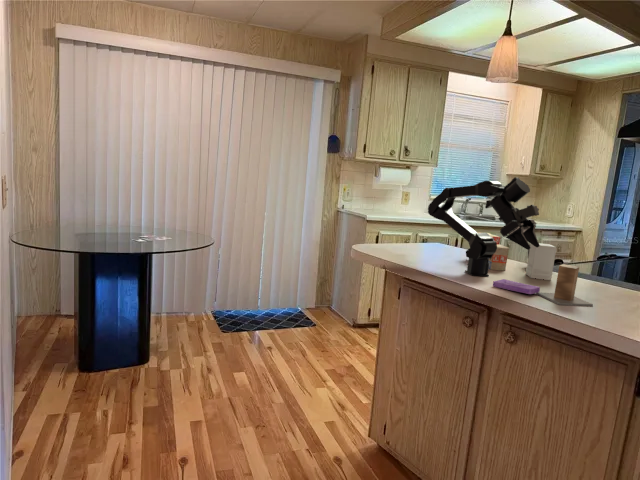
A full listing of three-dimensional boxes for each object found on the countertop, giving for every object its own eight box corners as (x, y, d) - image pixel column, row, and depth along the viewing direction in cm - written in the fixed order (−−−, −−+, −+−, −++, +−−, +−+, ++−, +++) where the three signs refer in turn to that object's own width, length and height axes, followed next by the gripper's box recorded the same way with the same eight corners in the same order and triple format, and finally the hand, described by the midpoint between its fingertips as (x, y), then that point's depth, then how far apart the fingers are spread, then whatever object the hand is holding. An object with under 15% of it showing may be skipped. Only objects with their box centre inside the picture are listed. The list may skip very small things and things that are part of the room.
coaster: (559, 304, 130) (559, 303, 130) (536, 294, 141) (536, 292, 141) (592, 306, 132) (593, 304, 132) (567, 295, 142) (567, 293, 142)
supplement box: (551, 280, 163) (557, 247, 161) (530, 278, 164) (535, 244, 162) (545, 276, 170) (551, 244, 168) (525, 273, 172) (530, 241, 170)
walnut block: (553, 297, 136) (559, 265, 134) (557, 295, 139) (563, 264, 138) (570, 301, 133) (575, 268, 131) (573, 298, 136) (579, 267, 135)
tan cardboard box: (505, 271, 175) (510, 240, 173) (490, 270, 174) (494, 239, 172) (484, 260, 196) (488, 232, 194) (471, 259, 196) (474, 231, 194)
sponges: (503, 284, 151) (503, 278, 151) (540, 292, 141) (540, 286, 141) (492, 286, 146) (492, 280, 146) (529, 294, 137) (530, 288, 136)
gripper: (515, 196, 142) (546, 235, 136) (534, 196, 155) (563, 232, 150) (487, 216, 148) (516, 255, 143) (508, 215, 162) (535, 250, 157)
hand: (534, 247), depth 148 cm, fingers open, 9 cm apart
